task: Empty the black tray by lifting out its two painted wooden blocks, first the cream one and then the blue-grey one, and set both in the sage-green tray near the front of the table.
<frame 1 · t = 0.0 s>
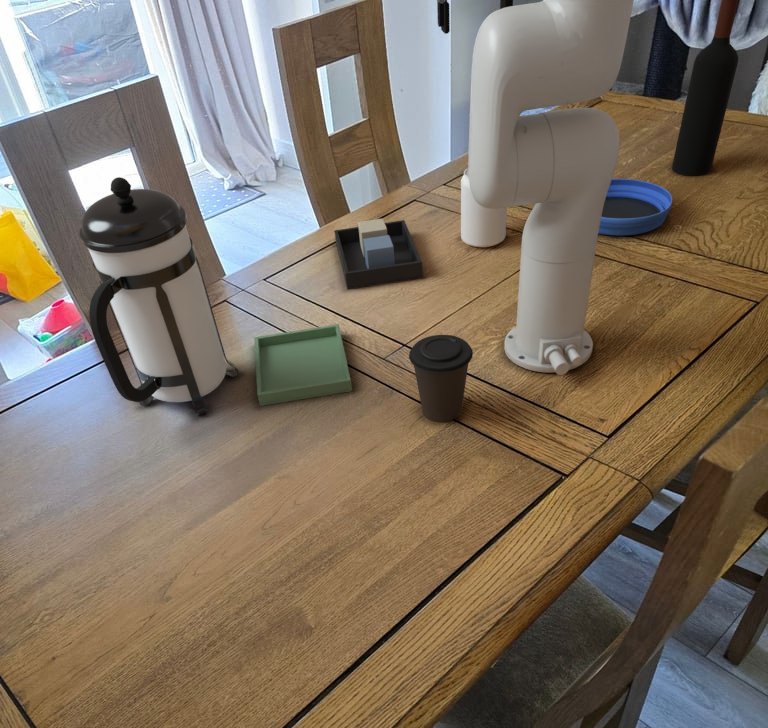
hand: (474, 27, 111), 31 cm above the table, tool pointing down, fingers open, 9 cm apart
wine bottle: (691, 169, 142), on the table
dish: (302, 368, 104), on the table
bowl: (617, 217, 130), on the table
bluegrey block: (380, 267, 122), resting on black tray
coffee cup: (442, 410, 94), on the table
black tray: (377, 260, 125), on the table
beverage can: (483, 240, 128), on the table
coffee press: (188, 395, 101), on the table
cream block: (374, 250, 127), resting on black tray
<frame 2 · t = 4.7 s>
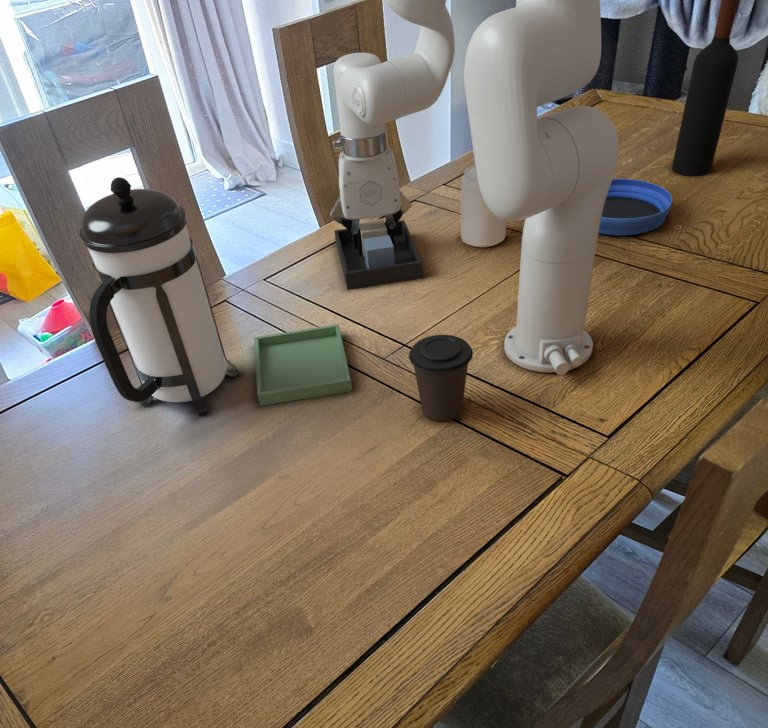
hand: (374, 248, 127), 1 cm above the table, tool pointing down, fingers closed on cream block, 4 cm apart
cream block: (374, 250, 127), resting on black tray, touching gripper
everything else where it was.
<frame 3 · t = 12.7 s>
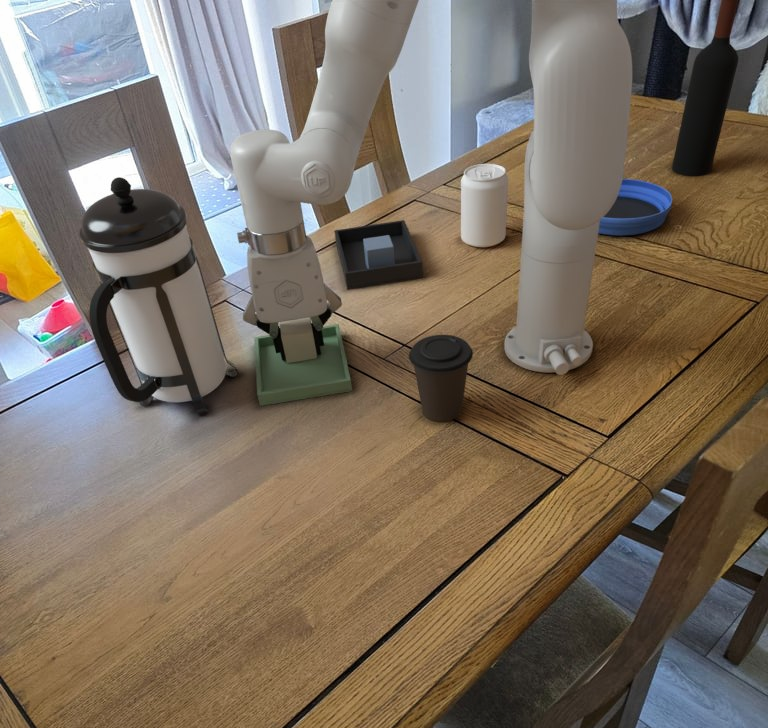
hand: (300, 351, 105), 1 cm above the table, tool pointing down, fingers closed on cream block, 4 cm apart
cream block: (301, 352, 106), resting on dish, touching gripper
everything else where it was.
when the fingers open (1 cm above the table, at t = 14.3 s): cream block stays where it is, resting on dish.
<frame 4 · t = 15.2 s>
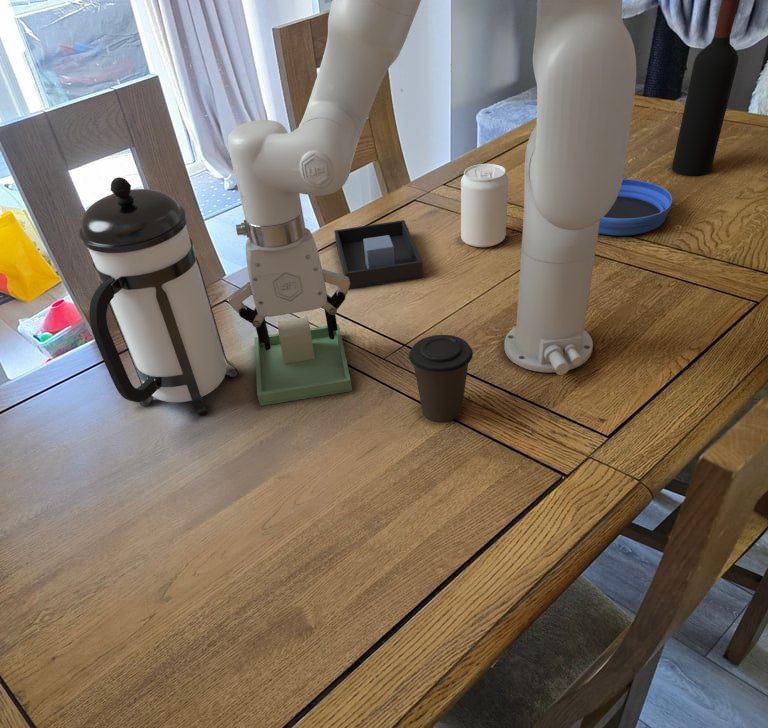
hand: (299, 340, 104), 3 cm above the table, tool pointing down, fingers open, 9 cm apart
cream block: (298, 353, 106), resting on dish
everything else where it was.
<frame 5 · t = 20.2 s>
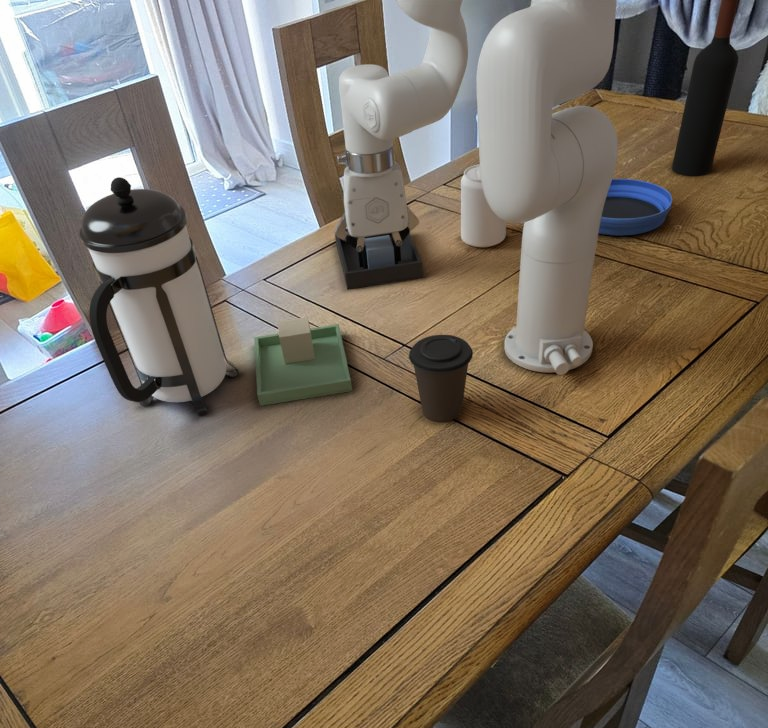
hand: (380, 266, 122), 1 cm above the table, tool pointing down, fingers closed on bluegrey block, 4 cm apart
bluegrey block: (380, 267, 122), resting on black tray, touching gripper
everything else where it was.
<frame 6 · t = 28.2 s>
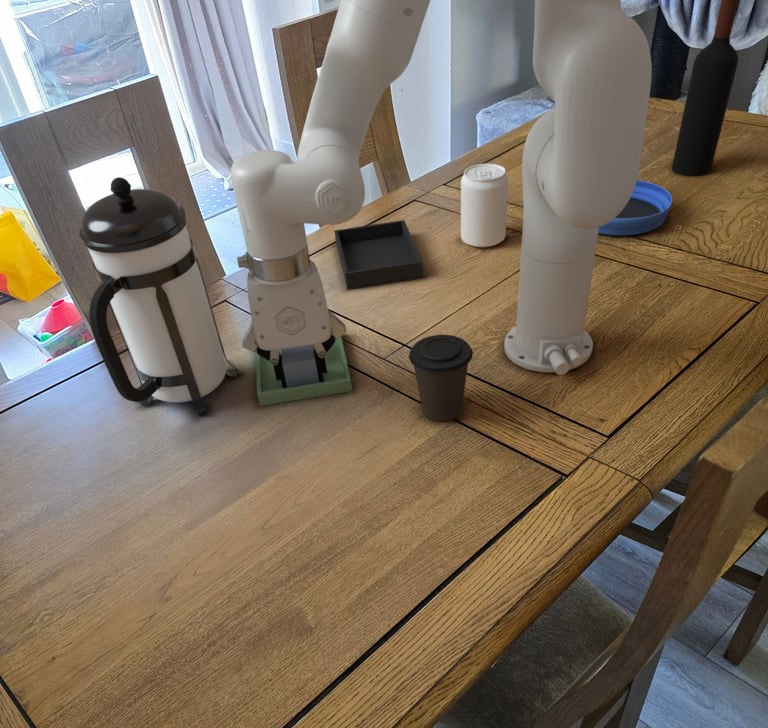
hand: (302, 378, 101), 1 cm above the table, tool pointing down, fingers closed on bluegrey block, 4 cm apart
bluegrey block: (302, 379, 101), resting on dish, touching gripper
everything else where it was.
when the fingers open (1 cm above the table, at t = 28.5 s): bluegrey block stays where it is, resting on dish.
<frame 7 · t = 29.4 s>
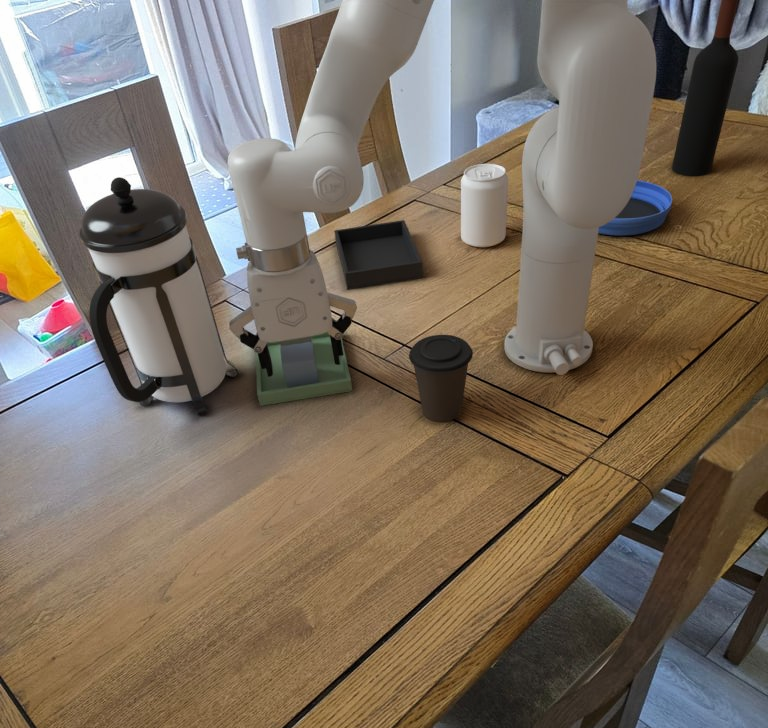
hand: (303, 365, 99), 3 cm above the table, tool pointing down, fingers open, 9 cm apart
bluegrey block: (302, 379, 101), resting on dish
everything else where it was.
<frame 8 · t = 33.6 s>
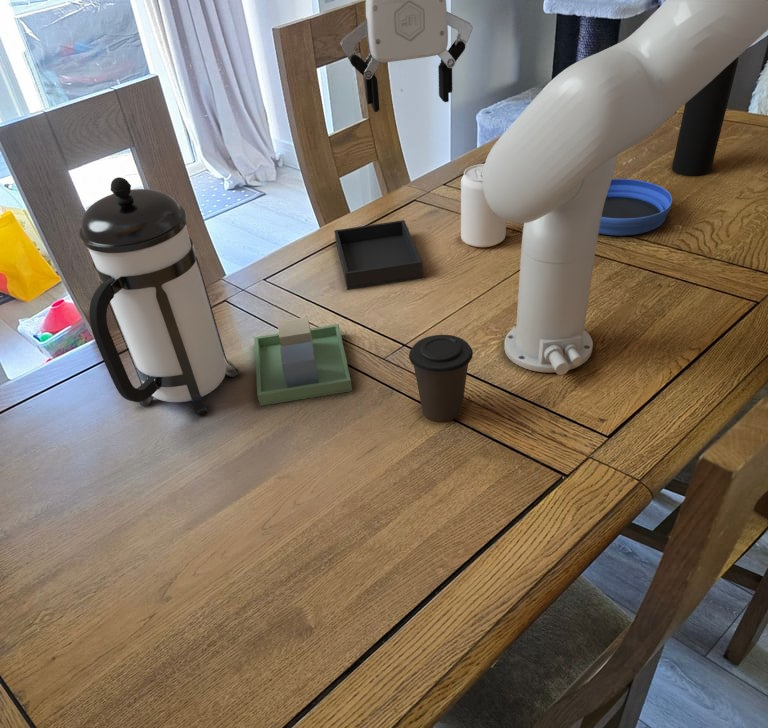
hand: (409, 104, 96), 28 cm above the table, tool pointing down, fingers open, 9 cm apart
nothing on the table moved.
at the end: cream block inside the target area on the dish (3.5 cm from its centre), point 0.4 cm above the dish's base; bluegrey block inside the target area on the dish (3.5 cm from its centre), point 0.4 cm above the dish's base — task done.
